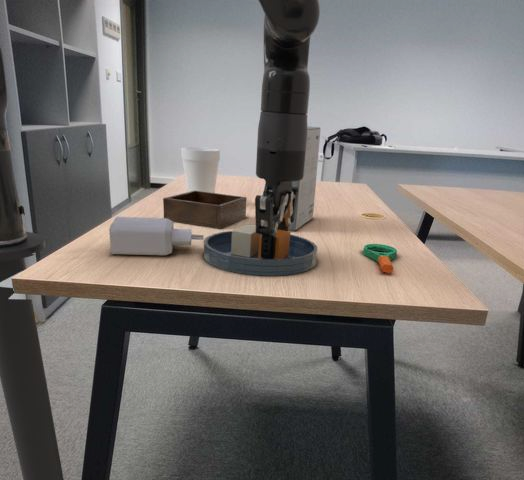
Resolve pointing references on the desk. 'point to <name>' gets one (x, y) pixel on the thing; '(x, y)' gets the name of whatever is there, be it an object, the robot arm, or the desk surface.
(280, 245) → the orange block
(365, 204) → the desk surface
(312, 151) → the hard drive box
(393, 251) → the magnifying glass
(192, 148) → the foam cup
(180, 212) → the holder
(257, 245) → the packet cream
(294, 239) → the dark blue round tray
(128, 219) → the charger
